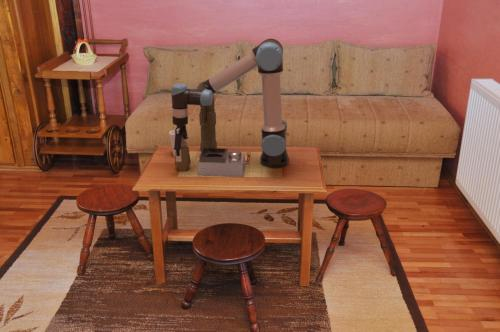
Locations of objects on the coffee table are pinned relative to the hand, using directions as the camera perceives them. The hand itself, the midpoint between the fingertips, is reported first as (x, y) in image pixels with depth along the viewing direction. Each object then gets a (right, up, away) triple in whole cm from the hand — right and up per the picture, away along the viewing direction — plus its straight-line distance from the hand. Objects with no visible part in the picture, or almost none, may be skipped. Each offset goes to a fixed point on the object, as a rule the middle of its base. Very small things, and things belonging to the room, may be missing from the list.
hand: (181, 156), depth 262 cm
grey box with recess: (+21, -6, +3) cm, 22 cm away
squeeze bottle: (0, -7, +3) cm, 7 cm away
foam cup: (-4, +1, +21) cm, 21 cm away
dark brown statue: (+12, +1, +21) cm, 25 cm away
